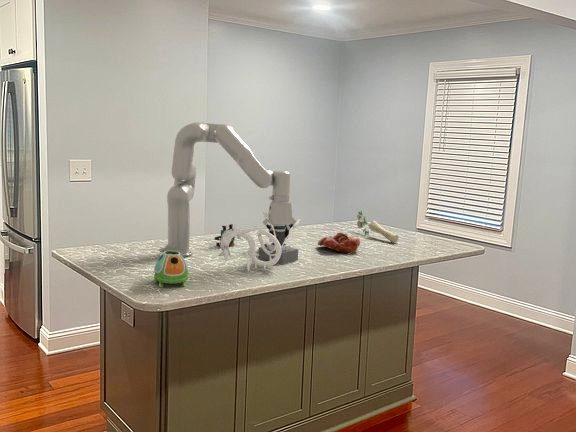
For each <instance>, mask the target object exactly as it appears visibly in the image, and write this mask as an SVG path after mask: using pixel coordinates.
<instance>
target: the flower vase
mask: <svg viewBox="0 0 576 432" xmlns="http://www.w3.org/2000/svg"><path fill="white" fill-rule="evenodd" d="M356 217H357V219H358V221H357V223H356V225H357V227H358V228H359V229H362V228H363V231H362V232H363V233H364V235H365V236H366V235H367V234H368V235H369V234H370V231H372V232H374V233H377V234H380V235H382V236H383V237H384V238H385V239H387V240H388V241H390V242H391V243H392V244H394V243H393V242H396V243H397V242H399V235H397V234H395V233H393V232H391V231H390V230H387V229H385V228H384V227H382V226H381V225H380V224H379V223H378V222H377V221H376V220H373V221H372V222H370V223H368V222H367V220H366V216H365V215H364V216H363V212H362V210H360V212H358V214H357V216H356ZM366 226H368V227H367V228H364V227H366ZM367 229H370V231H369V230H367Z"/></svg>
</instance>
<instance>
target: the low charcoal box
mask: <svg viewBox="0 0 576 432" xmlns="http://www.w3.org/2000/svg"><path fill="white" fill-rule="evenodd" d="M264 246H265V248H266V249H267V250H268V251H272V250H273V249H274V247H275V245H273V242H265V243H264ZM291 246H292V245H291V243H289V242H287V241H286V242H285V245H283V247H282V248H281V256H280V259H279V260H278V262H277V263H276V264H280V265H284V264H289V263H292V261H293V262H296V261H298V260H299V249H298V248H295V247H291ZM257 254H258V255H259V256H258V255H257V256H258V258H257V259H258V260H262V261H263V260H264V261H266V262H267V261H270V255H268V254H267V253H265V252H264V250H263V249H262V247H261V246H260V247H258V253H257ZM270 254H276V249H275V250H274V251H273V252H272V253H270ZM274 257H275V256H271V258H272V259H273V258H274ZM288 262H289V263H288Z"/></svg>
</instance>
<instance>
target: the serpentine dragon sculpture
mask: <svg viewBox="0 0 576 432" xmlns="http://www.w3.org/2000/svg"><path fill="white" fill-rule="evenodd" d="M261 210H262V212H263V216H264V218H265V219H268V220H269V216H268V213H267V212H266V211H265V210H264V209H263V208H261ZM300 221H301V218H299V219H297V221H296V223H295V224H294V225H293V227H292V228H291V229H290V231H289V234H288V236H287V237H286V239H285V241H284V243H283V244H282V246H281V245H280V243H279V241H278V240H277V238H276V235H275V231H274V228H273V226H272V224H271V222H270V220H269V222H270V223H269V222H268V223H269V225H270V224H271V226H272V228H273V231H274V235H272V234H271V233H269V231H267V230H265V229H258V228H251V229H246V230H242V229H241V228H239V229H237V226H236V224H234V225H233V228H232V229H234V230H233V231H232V229H230V230H228V231H226V230H227V229H226V230H225V231H226V233H223V234H222V236H223V237H222V238H221V240H220V238H219V240H218V241H219V242H218V243H219V244H220V243H221V245H219V246H220V249H221V252H220V253H219V254H218V255H217V256H218V257H223V258H224V261H225V262H228V261H229V258H232V255H231V251H230V249H229V247H230V245H229V243H230V242H231V239H232V238H233V237H235V238H237V239H238V240H241V241H243V239H245V240H246V241H247V243H248V249H247V252H246V254H249V257H250V258H249V259H248V262H247V265H246V267H247V272H249V271H250V269H251V268H250V267H251V266H252V265H251V264H252V263H253V265H255V269H257V268H258V267H257V266H259V267H263V268H264V270H266V268H268V267H269V268H270V269H272V267H273V266H274V265H275V264H278V263H277V262H278V260H279V259H280V256H281V248H282V247H283V245H284V244H285V242H286V243H287V240H288V239H289V238H290V235H291V234H292V232H293V231H294V229H296V228H297V227H298V225H299V223H300ZM256 230H258V231H257V239H258V242H259V245H260V247H262V249H263V250H264V252H265V253H267V254H268V255H270V261H267V260H264V261H263V260H261V259H259V258H257V257H256V256H259V255H258V253H256V242H255V240H254V238H253V236H251V235H250V234H249V233H252V232H253V231H256ZM225 231H224V232H225ZM262 235H264V236H265V237H267V238H268V239H271V240H272V241H273V243H274V244H275V247H274V249H273V250H272V251H268V250H267V249H266V248H265V246H264V244H265V243H264V240H263V237H262ZM287 238H288V239H287ZM275 249H276V254H270V253H272V252H273V251H274V250H275ZM271 256H275V257H274V258H273V259H272V258H271Z"/></svg>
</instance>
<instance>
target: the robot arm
mask: <svg viewBox="0 0 576 432" xmlns="http://www.w3.org/2000/svg"><path fill="white" fill-rule="evenodd" d="M203 142H204V143H213V144H214V143H215V144H219V145H220V146H221V148H222V149H224V151H226V153H227V154H228V155H229V156H230V157H231V158H232V159H233V160H234V162H235V163H236V164H237V165H238V166H239V168H240V169H241V170H242V171H243V172H244V173H245V174H246V176H247V177H248V178H249V179H250V180H251V181H252V183H254V184H255V186H257V187H258V188H260V189H266V188H268V187H270V186H272V191H271V192H272V193H271V195H270V196H269V198H268V199H269V200H271V201H270V204H269V208H268V213H267V214H268V216H269V220H270V222H271V224H272V226H273V228H274V226H275V225H285V239H286V237H287V236H288V234H289V233H290V231H291V230H292V229H293V225H294V224H295V223H296V222H297V221H296V220H295V219H294V217H293V209H292V202H290V190H291V173H290V172H289V171H286V170H272V169H271V170H269V169H265V167H263V165H261V163H260V162H259V161H258V160H257V158H256V157H255V155H254V154H253V152H252V150H251V148H250V147H249V146H248V145H247V143H245V142H244V141H243V139H242V138H241V137H240V136H239V135H238V134H237V133H236V130H235V129H234V127H233V126H231V125H230V124H219V123H209V122H208V123H207V122H191V123H188V124H187V125H185V126H182V128H181V129H180V130H179V131H178V132H177V134H176V137H175V140H174V147H173V156H172V165H171V175H172V177H173V179H174V184H173V186H171V187H170V188H169V190H168V192H167V196H166V198H167V199H166V201H167V244H165V247H161V248H159V249H158V251H159V253H161V254H162V253H163V252H164V251H178V252H180V254H181V255H182V257H183V258H185V257H191V256H193V251H192V250H191V249H190V235H191V234H190V225H191V223H190V222H191V219H190V218H191V217H190V215H191V212H190V211H191V210H190V202H191V200H192V199H193V198H194V194H195V187H196V186H195V185H196V177H197V168H196V167H197V166H196V164H195V163H194V162H193V160H194V159H193V158H194V154H195V153H194V147H195V145H196V143H203ZM269 220H268V219H266V218H265V219H264V220H263V221H262V223H263V225H264V226H265V227H266V228H267V229H268V232H269V233H271V234H272V235H274V231H273V228H272V226H271V224H270V222H269ZM288 239H289V237H288V238H287V240H288ZM169 254H170V255H173V254H172V253H169Z"/></svg>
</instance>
